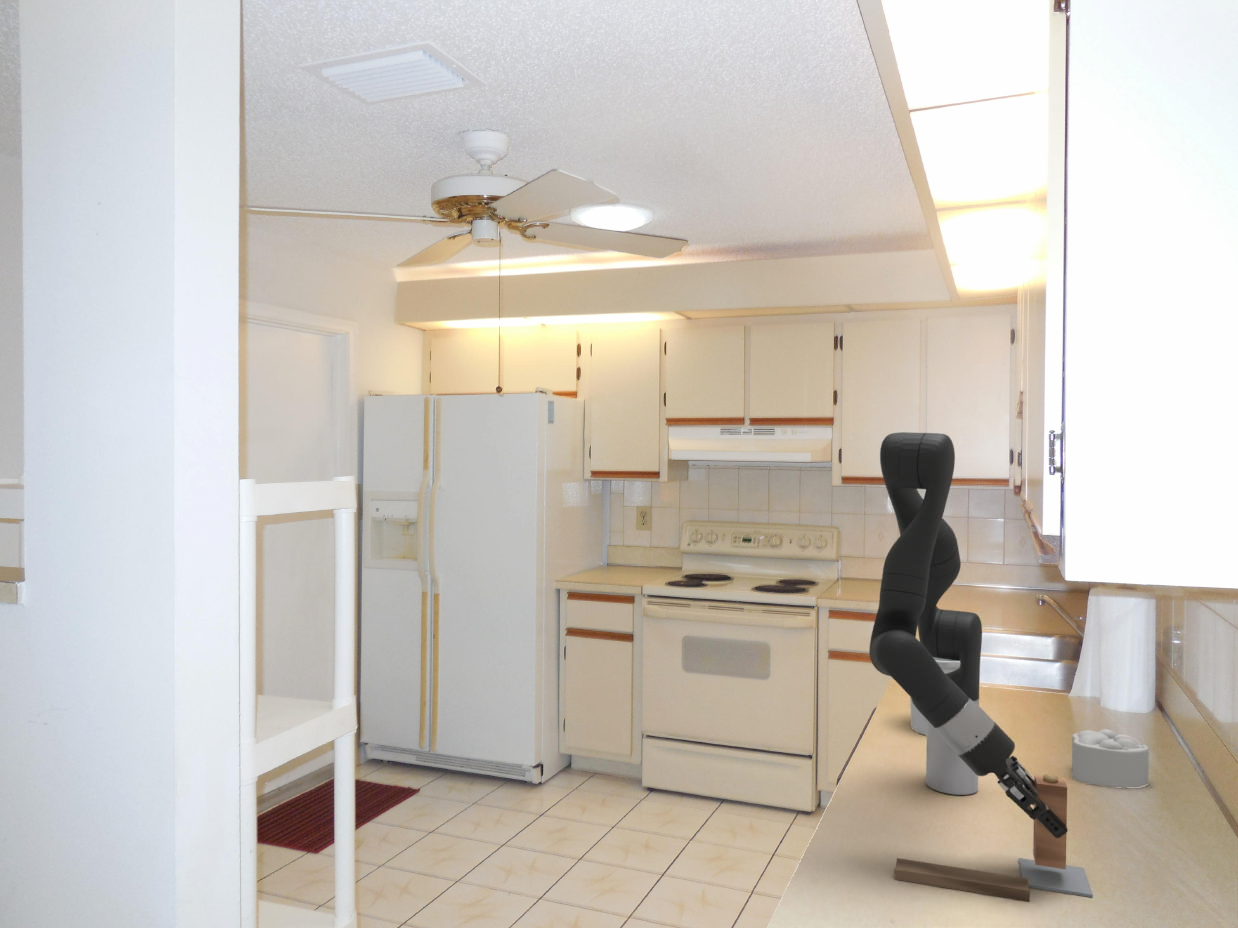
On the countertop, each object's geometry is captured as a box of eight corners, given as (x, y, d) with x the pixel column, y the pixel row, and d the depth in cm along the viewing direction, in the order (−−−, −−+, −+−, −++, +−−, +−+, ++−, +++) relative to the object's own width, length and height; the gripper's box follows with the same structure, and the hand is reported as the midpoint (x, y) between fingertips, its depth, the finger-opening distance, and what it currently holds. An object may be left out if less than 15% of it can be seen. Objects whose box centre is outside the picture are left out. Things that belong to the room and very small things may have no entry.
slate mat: (1018, 860, 138) (1018, 857, 138) (1083, 869, 135) (1083, 867, 135) (1023, 886, 130) (1023, 883, 130) (1092, 897, 127) (1092, 894, 127)
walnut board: (896, 867, 135) (896, 857, 135) (1027, 888, 129) (1027, 877, 129) (895, 879, 132) (895, 868, 132) (1029, 901, 125) (1029, 890, 125)
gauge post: (1033, 853, 135) (1034, 770, 135) (1062, 857, 134) (1064, 773, 134) (1035, 864, 132) (1037, 779, 131) (1065, 869, 130) (1067, 782, 130)
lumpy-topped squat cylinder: (1071, 765, 182) (1071, 723, 182) (1145, 775, 177) (1145, 731, 176) (1073, 782, 173) (1074, 737, 172) (1151, 793, 167) (1152, 747, 167)
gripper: (995, 734, 129) (1088, 831, 125) (990, 708, 142) (1075, 795, 138) (955, 766, 131) (1045, 863, 126) (954, 737, 144) (1036, 824, 140)
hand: (1060, 827), depth 132 cm, fingers closed on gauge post, 4 cm apart
